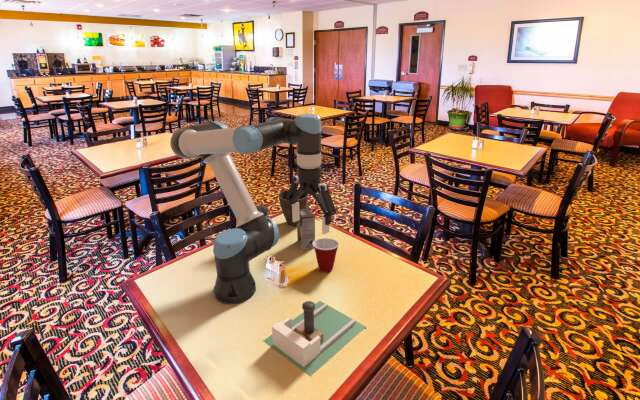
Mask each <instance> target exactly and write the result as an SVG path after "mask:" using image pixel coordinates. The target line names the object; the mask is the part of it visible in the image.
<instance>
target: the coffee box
mask: <svg viewBox="0 0 640 400" xmlns="http://www.w3.org/2000/svg"><path fill="white" fill-rule="evenodd" d="M299 214H300V220H298V221H297V226H296V232H297V233H296V235H297V243H298V244H299V246H300V249H301V250H302V251H303V250H309V249H310V250H311V249H314V247H313V244H312V243H313V241H315V240H316V217H315V214H314V212H313V211H312V210H311V209H310V208H309V207H308V208H306V209H299Z"/></svg>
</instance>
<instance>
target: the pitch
mask: <svg viewBox="0 0 640 400" xmlns="http://www.w3.org/2000/svg"><path fill="white" fill-rule="evenodd" d="M303 322H304V311H303V312H302V313H300V314H299V315H298V316H296V317H294V318H293V319H292V330H293V331H294V332H296V330H295V328H296V327H297V326H298V325H300V324H301V323H303ZM314 327H315V328H316V329H318V330H319V331H321V332H322V333H323V342H321V343H320V349H321V353H320V354H319V355H318V356H317V357H315V358H314V359H313V360H312V361H311V362H310V363H308V364H307V365H306V366H305V367H303V366H301V365H300V364H299V363H297V362H296V361H295V360H293V359H292V358H291V357H289V356H288V355H287V354H285V353H284V352H283V351H281V350H280V349H279V348H277V347H276V346H275V345H273V335H272V334H270V335H269V336H268V337H266V338H265V339H263V340H262V342H264V343H265V344H266V345H268V346H269V347H270V348H272V349H274V351H276V352H277V353H279V354H280V355H281V356H283V357H284V358H285V359H287V360H288V361H289V362H290V363H292V364H293V365H295V366H296V367H297V368H299V369H300V370H301V371H303V372H304V373H305V374H306V375H308V377H312V376H313V375H314V374H315V373H316V372H317V371H318V370H319V369H320V368H322V367H323V366H324V365H326V363H327V362H328V361H330V359H332V358H333V357H334V356H336V354H337V353H338V352H339V351H341V350H342V349H343V348H344V347H346V345H348V343H350V342H351V341H352V340H353V339H354V338H356V336H358V335H359V334H360V333H361V332H362V331H364V330H367V326H365V325H364V324H362V323H360V322H358V321H357V320H355V319H353V318H352V317H350V316H348V315H346V314H344V313H343V312H341V311H339V310H338V309H336V308H334V307H332V306H331V305H329V304H327V303H326V302H323V301H322V300H319V301H317V302H316V303H315V309H314Z"/></svg>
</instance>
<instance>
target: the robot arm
mask: <svg viewBox="0 0 640 400" xmlns="http://www.w3.org/2000/svg"><path fill="white" fill-rule="evenodd" d="M322 131H323V130H322V120H321V117H320V116H319V115H318V114H315V113H302V114H300V113H299V114H297V115H296V117H295V119H292V118H291V119H290V118H284V117H281V116H280V117H279V116H278V117H269V118H267V120H266V121H265V122H261V123H255V124H250V125H243V126H242V125H241V126H235V127H228V126H227V125H225V123H223V122H220V121H206V122H203V123H197V124H193V125H192V124H191V125H185V126H183V127H180V128H178V129H176V131H174V132H173V134H172V135H171V138H170V142H169V143H170V148H171V150H172V152H173V153H174V155H176V156H177V157H179V158H181V159H185V160H189V159H190V160H191V159H197V158H201V160H202V162H203V163H204V164H206V165H208V166H209V167H210V168H211V171H212V172H213V175H214V177H215V179H216V181H217V183H218V184H219V187H220V189H221V191H222V193H223V195H224V197H225V199H226V201H227V202H228V205H229V206H230V209H231V211H232V212H233V214H234V217H235V219H236V220H237V222H236V226H235V228H230V229H225V230H223V231H221V232H219V233H218V234H217V235H216V236H215V237H214V239H213V244H212V245H213V246H212V247H213V251H212V252H213V255H214V262H215V269H216V278H215V284H214V288H213V293H214V294H213V295H214V297H215V299H216V300H217V301H218V302H220V303H222V304H230V305H231V304H240V303H243V302H245V301H247V300H249V299H251V298H252V297H253V296H254V295H255V293H256V291H257V285H256V281H255V278H254V277H253V274H252V273H251V270H250V262H251V261H252V260H254V259H256V258H257V257H259V256H261V255H262V254H263V253H266V252H267V251H270V250H271V249H272V248H273V247H276V245H277V243H278V241H279V238H280V231H279V228H278V225H277V223H276V222H275V221H274V220H273V219H272V218H270V217H268V218H266V217H265V215H264V213H261V212H259V211H258V210H257V208H256V206H257V205H256V204H255V202H254V200H253V199H252V196H251V194H250V192H249V190H248V188H247V186H246V185H245V182H244V180H243V178H242V176H241V173H239V170H238V168H237V165H236V164H235V162H234V161H233V158H232V156H231V154H232V153H240V154H243V155H247V154H254V153H257V152H259V151H261V150H265V149H268V148H272V147H276V146H279V145H283V144H289V145H296V164H297V170H296V171H297V174H296V175H294V176H292V177H291V183H290V186H289V188H288V190H289V191H288V194H287V197H286V200H289V201H290V203H291V211H292V220H293V222H296V221H298V220H300V214H299V202H297V201H299V200H298V199H299V198H300V197H301V196H302V194H303V193H308V196H309V195H310V196H312V197H313V198H314V199H315V201H316V203H317V205H318V206H319V208H320V210H321V212H322V215H321V227H322V228H321V231H322V232H321V234H322V235H326V234H328V233H330V225H331V224H332V216H333V215H335V214H337V210H336V207H335V204H334V201H333V199H332V195H331V192H330V189H329V188H330V187H329V184H328V183H327V182H326V183H321V178H322V166H321V165H322ZM297 189H298V191H297V192H296V190H297Z"/></svg>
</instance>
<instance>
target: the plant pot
mask: <svg viewBox="0 0 640 400" xmlns="http://www.w3.org/2000/svg"><path fill="white" fill-rule="evenodd" d="M288 191H289V189H286V190H283V191H281V192H280V193H278V196H277V197H278V200H279V204H280V208H281V211H282V214H283V217H284V219H285V221H286V223H287V225H288V226H291V227H297V221H296V222H293V220H292V211H291V203H290V201H289V200H286V197H287V194H288ZM297 191H298V188H297V190H296V192H297ZM298 200H299V201H297V202H299V209H307V207H308V201H309V194H308V193H303V194H302V196H301V197H300V198H299V199H298Z"/></svg>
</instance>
